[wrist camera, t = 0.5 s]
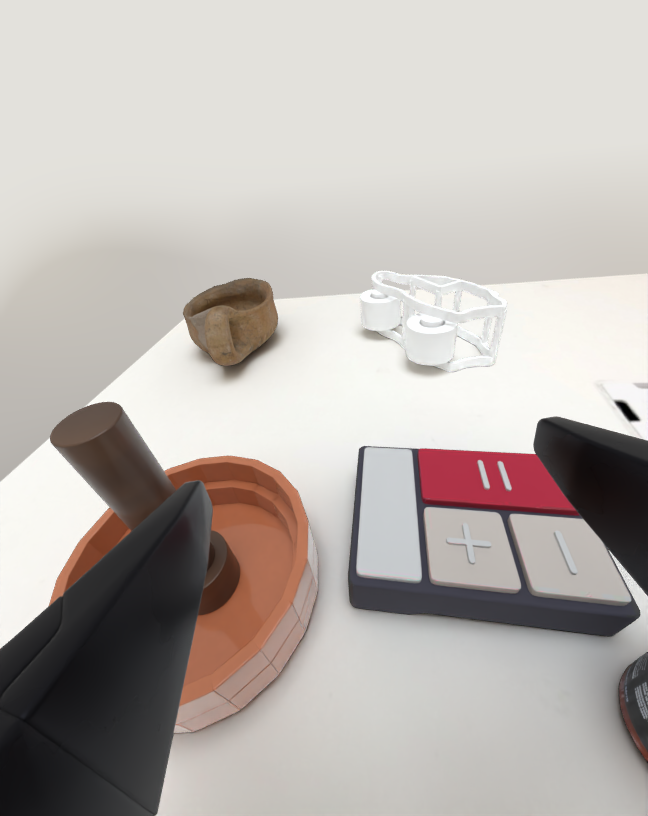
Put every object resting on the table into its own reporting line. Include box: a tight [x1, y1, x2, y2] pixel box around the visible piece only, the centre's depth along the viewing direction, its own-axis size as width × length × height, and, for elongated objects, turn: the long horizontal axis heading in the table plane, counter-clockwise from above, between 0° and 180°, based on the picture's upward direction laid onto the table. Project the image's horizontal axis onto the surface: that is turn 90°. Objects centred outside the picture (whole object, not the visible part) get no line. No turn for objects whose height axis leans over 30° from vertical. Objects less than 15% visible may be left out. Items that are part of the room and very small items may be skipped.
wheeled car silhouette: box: [360, 271, 507, 372], centre depth 44 cm, size 20×11×7 cm, turn 25°
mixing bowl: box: [49, 456, 318, 733], centre depth 22 cm, size 15×15×5 cm
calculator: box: [348, 446, 640, 636], centre depth 23 cm, size 11×4×15 cm
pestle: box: [50, 402, 240, 615], centre depth 19 cm, size 4×4×15 cm
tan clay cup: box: [183, 278, 278, 366], centre depth 48 cm, size 18×14×10 cm
